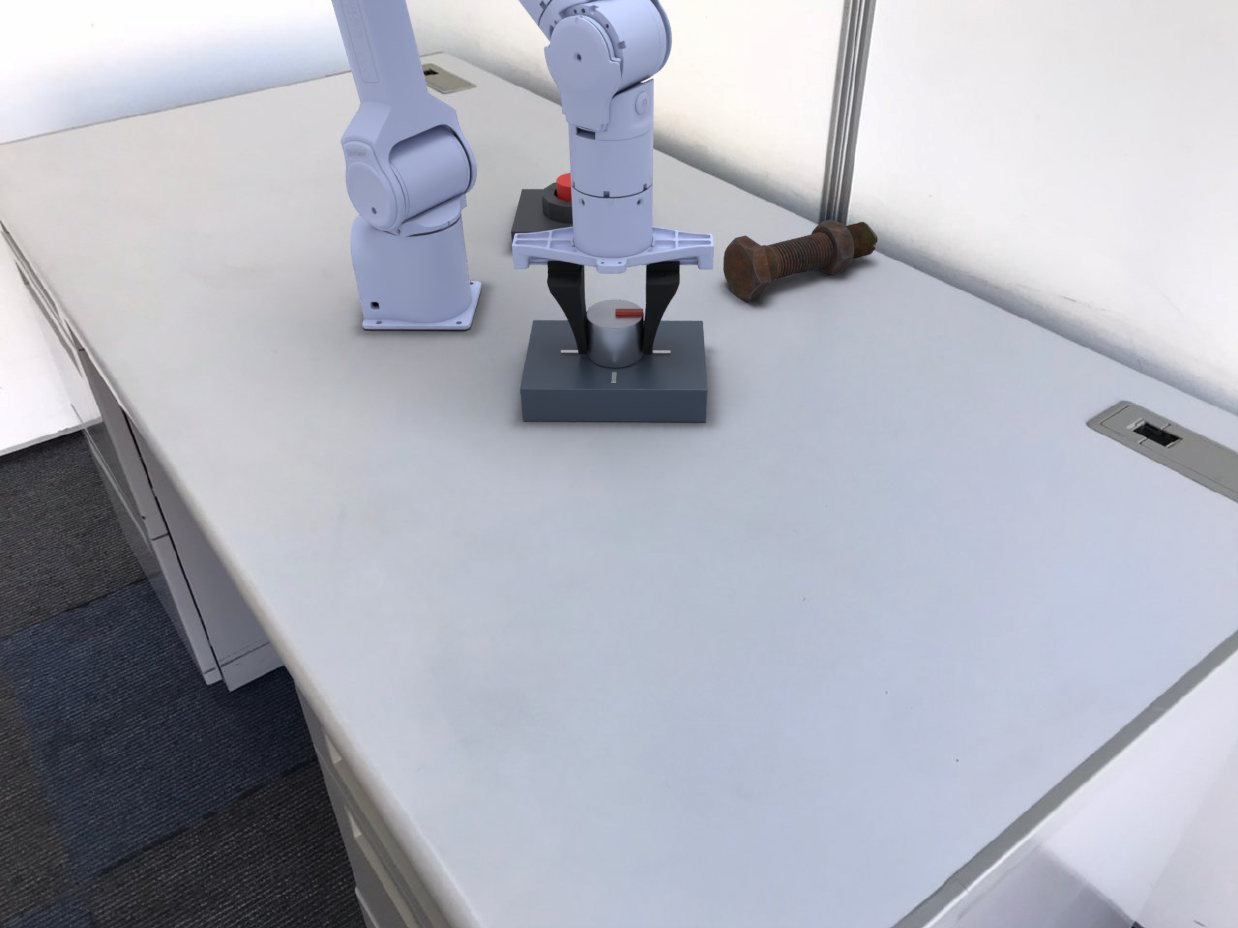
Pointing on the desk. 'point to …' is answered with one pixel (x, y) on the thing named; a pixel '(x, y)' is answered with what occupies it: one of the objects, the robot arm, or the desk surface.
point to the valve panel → (615, 378)
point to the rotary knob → (615, 333)
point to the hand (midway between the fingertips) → (615, 347)
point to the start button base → (541, 211)
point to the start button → (564, 187)
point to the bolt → (794, 256)
